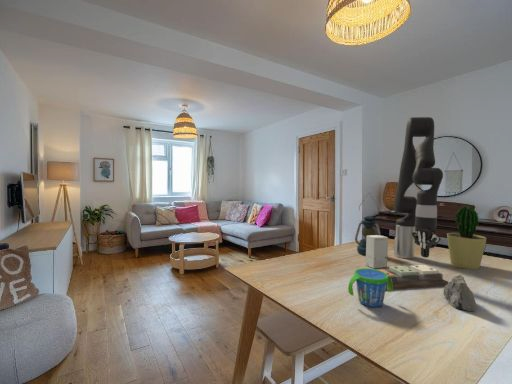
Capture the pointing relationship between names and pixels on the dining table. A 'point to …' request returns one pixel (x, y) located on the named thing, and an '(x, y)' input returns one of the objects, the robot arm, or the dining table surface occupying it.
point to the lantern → (366, 232)
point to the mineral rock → (459, 294)
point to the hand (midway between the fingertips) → (424, 256)
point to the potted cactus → (466, 240)
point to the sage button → (403, 270)
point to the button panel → (416, 280)
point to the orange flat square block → (386, 272)
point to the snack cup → (371, 286)
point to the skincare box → (376, 251)
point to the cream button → (424, 269)
